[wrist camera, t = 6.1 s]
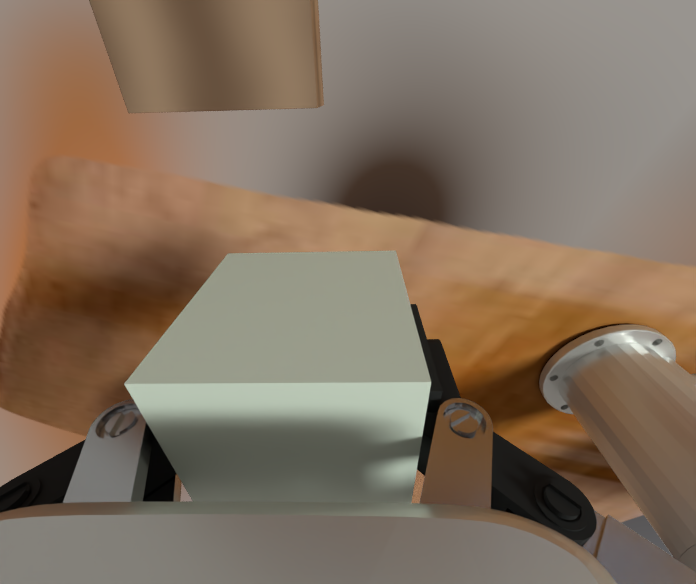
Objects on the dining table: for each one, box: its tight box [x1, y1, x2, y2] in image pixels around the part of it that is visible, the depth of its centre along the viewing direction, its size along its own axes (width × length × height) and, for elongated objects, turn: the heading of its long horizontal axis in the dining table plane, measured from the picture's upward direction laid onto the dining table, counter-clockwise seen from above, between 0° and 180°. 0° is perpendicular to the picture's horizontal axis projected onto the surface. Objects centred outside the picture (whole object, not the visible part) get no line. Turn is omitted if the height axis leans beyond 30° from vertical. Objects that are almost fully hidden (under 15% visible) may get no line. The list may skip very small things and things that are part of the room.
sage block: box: [124, 251, 431, 503], centre depth 10 cm, size 6×6×6 cm
